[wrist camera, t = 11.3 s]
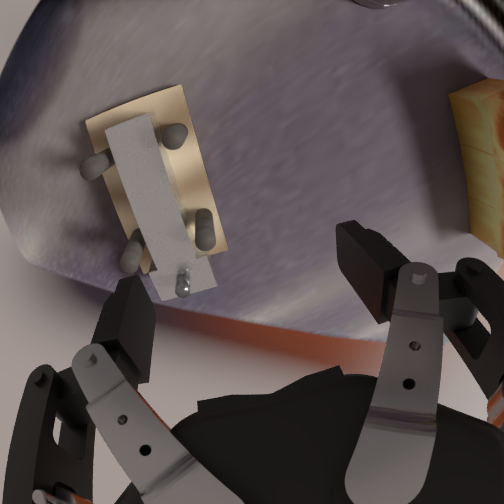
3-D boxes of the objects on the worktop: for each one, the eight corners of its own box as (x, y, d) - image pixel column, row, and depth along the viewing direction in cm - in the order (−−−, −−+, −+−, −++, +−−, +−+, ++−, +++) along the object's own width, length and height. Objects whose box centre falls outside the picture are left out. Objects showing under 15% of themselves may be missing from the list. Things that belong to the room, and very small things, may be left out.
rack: (89, 120, 24) (59, 126, 18) (181, 85, 24) (176, 78, 18) (145, 268, 33) (135, 306, 27) (227, 245, 33) (234, 280, 27)
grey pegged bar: (107, 130, 24) (86, 137, 19) (165, 108, 24) (156, 108, 19) (165, 280, 33) (160, 313, 27) (214, 266, 33) (219, 297, 28)
